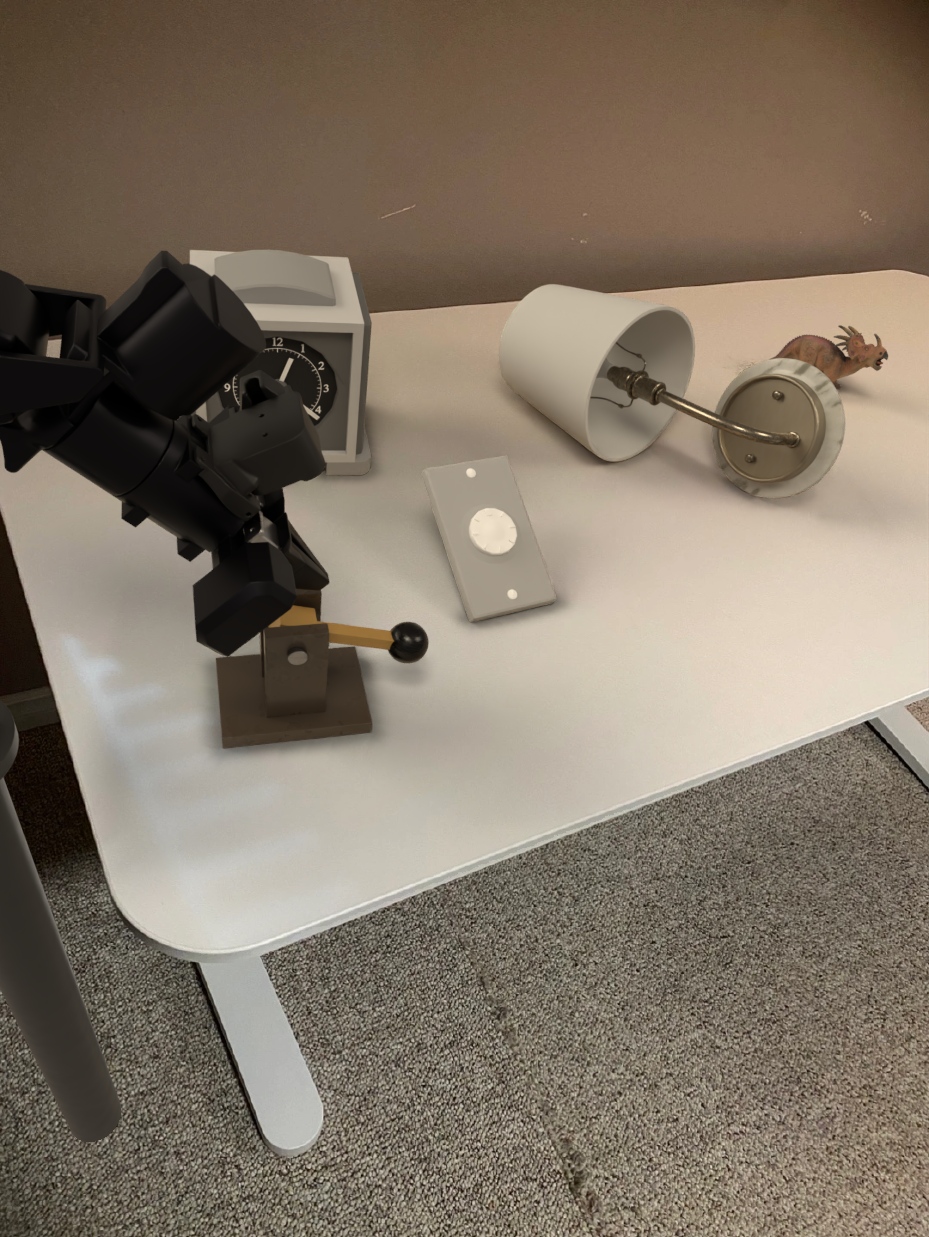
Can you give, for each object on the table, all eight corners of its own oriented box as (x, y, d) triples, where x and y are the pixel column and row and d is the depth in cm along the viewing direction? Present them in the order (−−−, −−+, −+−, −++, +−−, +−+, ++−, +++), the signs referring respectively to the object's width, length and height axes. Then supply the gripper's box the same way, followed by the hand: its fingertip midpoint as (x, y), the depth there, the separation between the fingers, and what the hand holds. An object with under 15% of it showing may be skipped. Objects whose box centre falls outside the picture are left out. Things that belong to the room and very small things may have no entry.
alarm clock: (181, 476, 90) (165, 296, 77) (183, 401, 99) (168, 229, 86) (371, 475, 94) (385, 304, 81) (356, 403, 103) (366, 239, 90)
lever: (414, 644, 73) (430, 615, 71) (423, 674, 71) (439, 646, 69) (265, 624, 68) (278, 593, 66) (269, 657, 66) (283, 625, 64)
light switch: (477, 616, 79) (426, 463, 82) (455, 635, 84) (408, 491, 87) (562, 596, 82) (511, 449, 85) (536, 615, 88) (489, 477, 91)
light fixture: (709, 542, 84) (465, 407, 103) (802, 531, 97) (570, 413, 117) (788, 360, 77) (510, 252, 96) (877, 375, 90) (617, 277, 110)
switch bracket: (354, 655, 76) (361, 567, 69) (371, 732, 71) (380, 644, 64) (216, 667, 73) (209, 576, 67) (222, 748, 68) (215, 658, 61)
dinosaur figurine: (859, 389, 121) (891, 324, 115) (861, 412, 117) (895, 345, 111) (756, 363, 123) (782, 297, 116) (754, 384, 119) (781, 317, 112)
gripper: (253, 468, 45) (444, 614, 56) (227, 287, 57) (387, 435, 68) (101, 595, 48) (308, 710, 59) (107, 399, 61) (278, 523, 71)
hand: (324, 583), depth 64 cm, fingers closed
